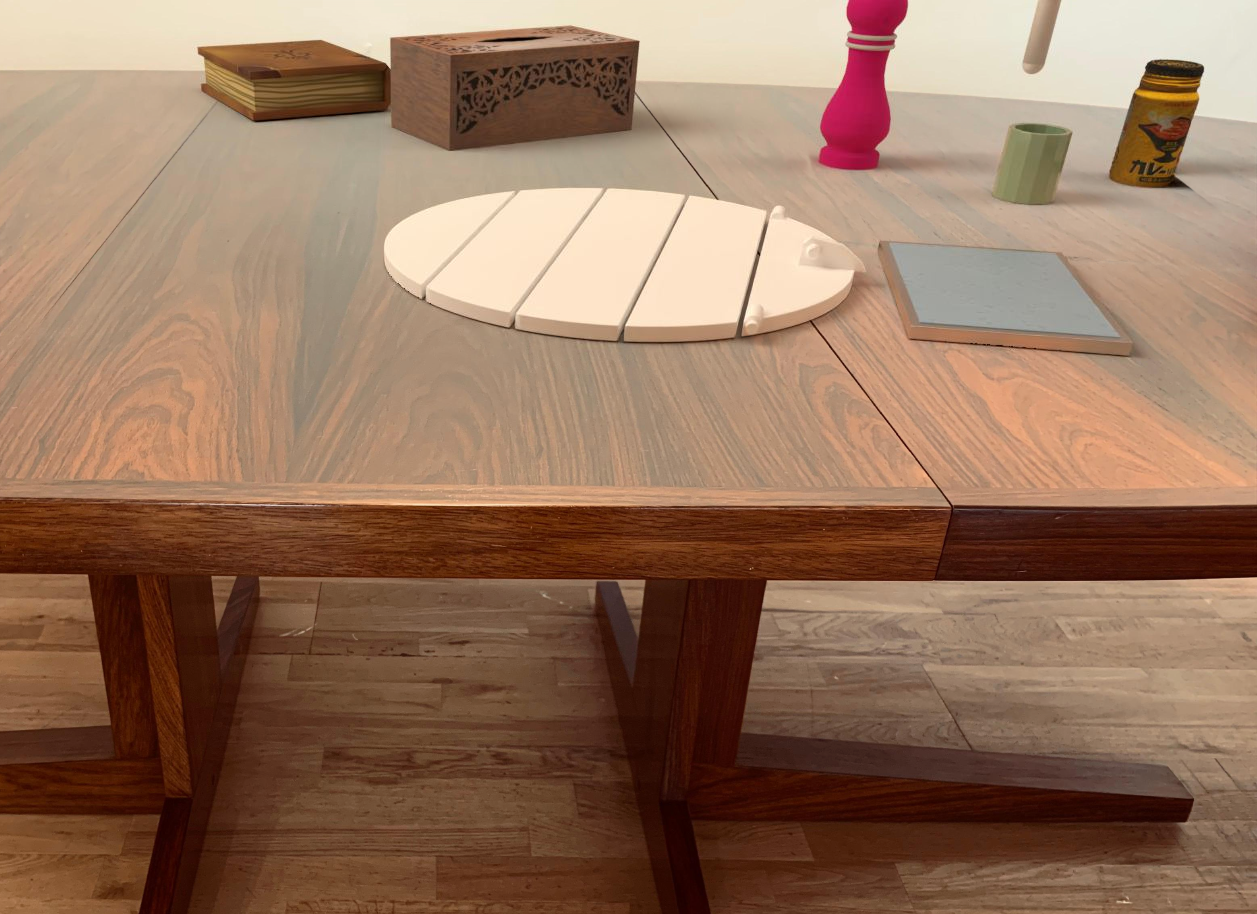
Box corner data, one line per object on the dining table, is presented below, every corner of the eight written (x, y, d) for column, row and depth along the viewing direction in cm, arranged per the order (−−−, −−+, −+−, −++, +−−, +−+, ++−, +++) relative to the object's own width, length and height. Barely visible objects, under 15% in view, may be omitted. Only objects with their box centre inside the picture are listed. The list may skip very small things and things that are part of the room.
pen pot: (1044, 196, 122) (1064, 124, 118) (1057, 211, 117) (1078, 136, 113) (986, 193, 123) (1004, 121, 119) (996, 207, 118) (1016, 133, 114)
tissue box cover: (449, 150, 136) (450, 55, 131) (391, 126, 147) (390, 37, 141) (631, 129, 147) (639, 40, 142) (565, 108, 157) (570, 25, 152)
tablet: (1058, 263, 103) (1062, 251, 102) (1129, 356, 84) (1134, 342, 84) (877, 251, 105) (879, 239, 104) (908, 339, 87) (911, 324, 86)
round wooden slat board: (863, 221, 113) (870, 184, 111) (862, 371, 81) (872, 322, 79) (457, 186, 122) (457, 151, 121) (314, 307, 91) (312, 263, 89)
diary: (392, 110, 155) (391, 62, 152) (253, 122, 148) (250, 72, 145) (328, 81, 172) (326, 37, 169) (201, 90, 165) (197, 45, 162)
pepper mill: (811, 171, 130) (846, -36, 119) (815, 157, 135) (849, -42, 125) (880, 177, 128) (923, -33, 117) (882, 163, 133) (922, -39, 123)
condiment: (1158, 197, 122) (1199, 70, 116) (1074, 181, 127) (1110, 59, 121) (1184, 185, 126) (1226, 63, 120) (1103, 170, 132) (1138, 52, 125)
